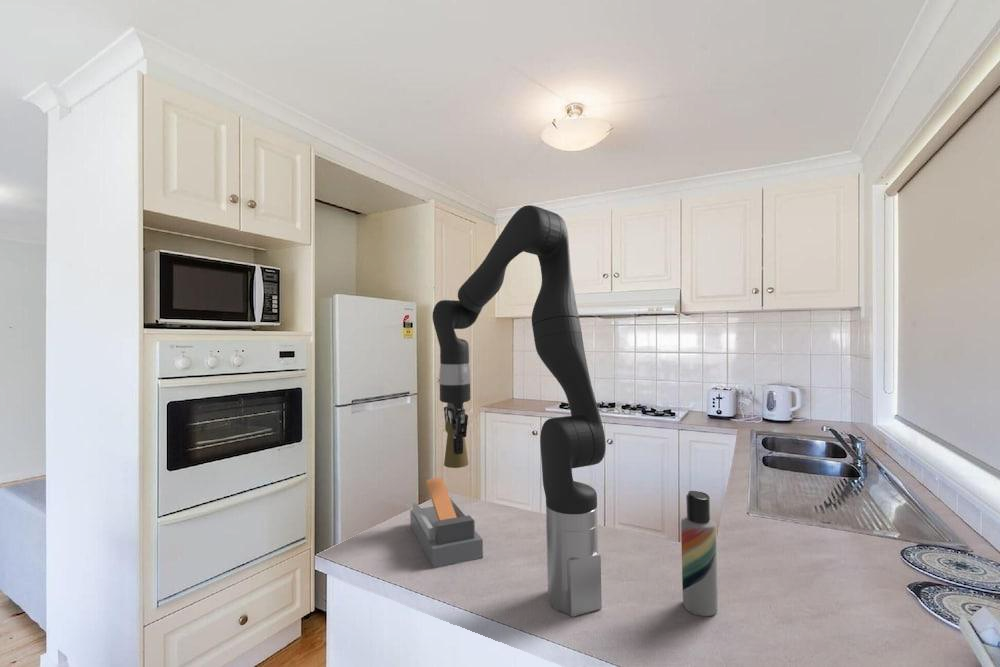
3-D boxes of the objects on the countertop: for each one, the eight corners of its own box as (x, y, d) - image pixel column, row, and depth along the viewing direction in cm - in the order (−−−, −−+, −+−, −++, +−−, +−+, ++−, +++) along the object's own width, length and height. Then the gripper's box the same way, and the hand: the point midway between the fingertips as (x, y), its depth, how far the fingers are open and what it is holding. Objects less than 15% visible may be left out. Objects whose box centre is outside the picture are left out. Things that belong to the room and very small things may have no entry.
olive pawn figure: (467, 467, 112) (466, 422, 112) (441, 467, 113) (441, 422, 113) (469, 460, 119) (469, 417, 118) (446, 460, 119) (445, 417, 119)
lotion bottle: (688, 594, 86) (686, 485, 86) (722, 605, 83) (719, 491, 83) (678, 609, 82) (675, 494, 82) (712, 621, 78) (710, 501, 78)
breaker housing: (482, 557, 102) (482, 521, 102) (433, 568, 98) (432, 529, 98) (452, 518, 124) (451, 488, 124) (410, 525, 120) (410, 494, 120)
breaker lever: (460, 532, 105) (460, 528, 105) (443, 535, 104) (443, 531, 104) (441, 481, 120) (442, 477, 119) (426, 483, 118) (426, 479, 118)
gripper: (478, 384, 110) (479, 457, 110) (461, 378, 123) (462, 443, 123) (447, 386, 107) (448, 460, 108) (433, 379, 121) (434, 446, 121)
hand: (455, 451), depth 116 cm, fingers closed on olive pawn figure, 4 cm apart
